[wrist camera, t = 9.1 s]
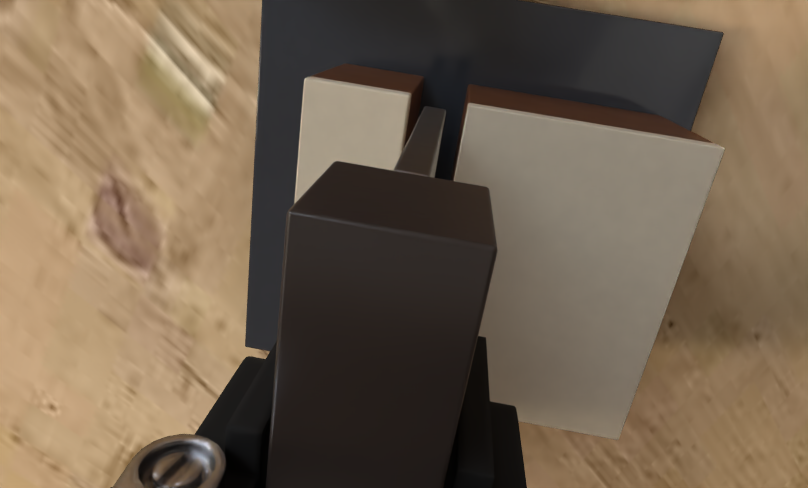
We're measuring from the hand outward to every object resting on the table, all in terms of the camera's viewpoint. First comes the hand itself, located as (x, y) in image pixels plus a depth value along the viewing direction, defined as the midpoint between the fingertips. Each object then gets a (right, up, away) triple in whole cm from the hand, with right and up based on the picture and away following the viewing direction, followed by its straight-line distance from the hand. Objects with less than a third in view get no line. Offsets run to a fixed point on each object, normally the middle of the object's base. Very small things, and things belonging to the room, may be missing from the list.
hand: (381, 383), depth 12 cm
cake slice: (-1, +5, +11) cm, 12 cm away
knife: (+1, +2, +5) cm, 5 cm away
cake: (+6, +4, +11) cm, 12 cm away
